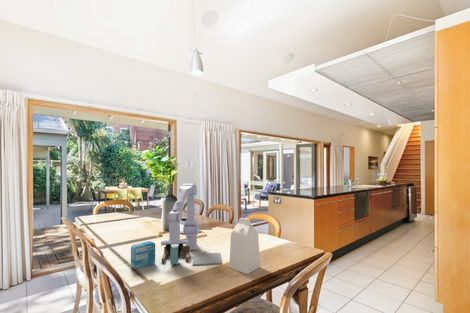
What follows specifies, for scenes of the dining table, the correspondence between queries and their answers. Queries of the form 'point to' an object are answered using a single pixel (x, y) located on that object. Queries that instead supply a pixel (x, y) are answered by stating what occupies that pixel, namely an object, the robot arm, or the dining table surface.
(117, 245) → the dining table surface
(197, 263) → the board
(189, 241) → the robot arm
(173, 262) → the block
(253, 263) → the milk
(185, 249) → the bay
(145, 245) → the data package
